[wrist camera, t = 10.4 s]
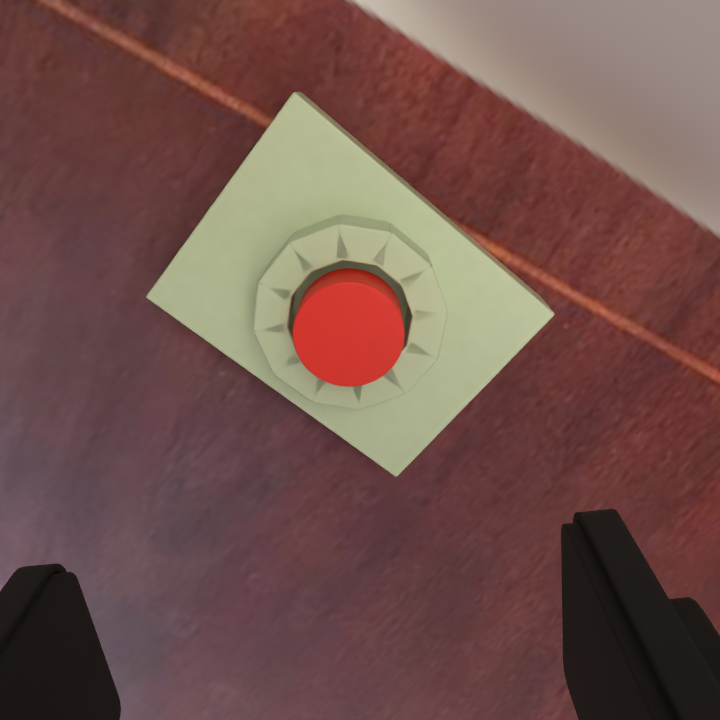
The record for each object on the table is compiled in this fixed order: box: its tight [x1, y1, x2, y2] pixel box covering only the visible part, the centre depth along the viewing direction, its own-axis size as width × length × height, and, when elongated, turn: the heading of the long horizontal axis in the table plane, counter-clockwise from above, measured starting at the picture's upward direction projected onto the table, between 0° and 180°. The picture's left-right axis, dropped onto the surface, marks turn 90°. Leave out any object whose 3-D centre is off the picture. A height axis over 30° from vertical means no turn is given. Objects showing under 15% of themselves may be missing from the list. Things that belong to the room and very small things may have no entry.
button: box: [293, 268, 405, 387], centre depth 22 cm, size 4×4×2 cm
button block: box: [147, 92, 554, 477], centre depth 25 cm, size 12×9×4 cm
